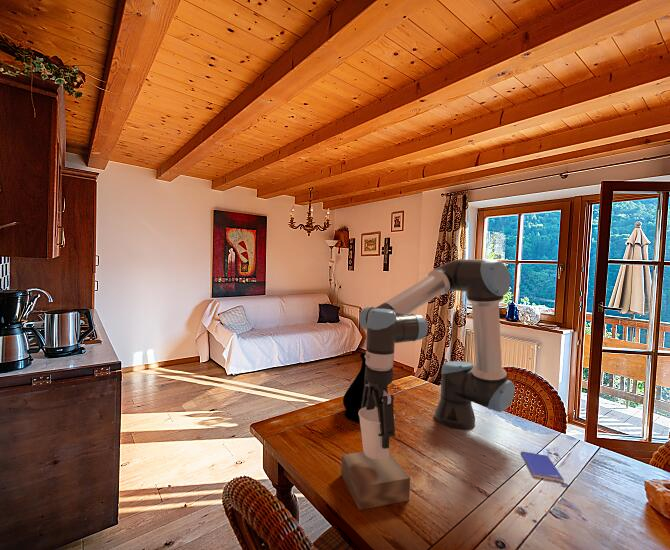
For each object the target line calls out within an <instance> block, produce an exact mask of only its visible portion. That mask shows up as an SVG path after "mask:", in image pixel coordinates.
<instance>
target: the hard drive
mask: <svg viewBox="0 0 670 550" xmlns="http://www.w3.org/2000/svg"><path fill="white" fill-rule="evenodd" d="M520 456H521V458H522V459H523V461H525V462H524V463H525V465H526V467H527V469H528V471H529V473H530V476H531V477H532V478H536V477H538V478H537V479H542V478H544V479H543V480H547V479H550V480H549V481H553V480H556V481H555V482H558V481H562V482H561V483H564V482H565V479H564V478H563V477H562V475H561V474H560V472H559V471H558V469H557V467H556V466H555V464H554V463H553V461H552V460H551V458H550V456H548V455H546V454H539V453H534V452H533V453H532V452H527V451H520Z"/></svg>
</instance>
